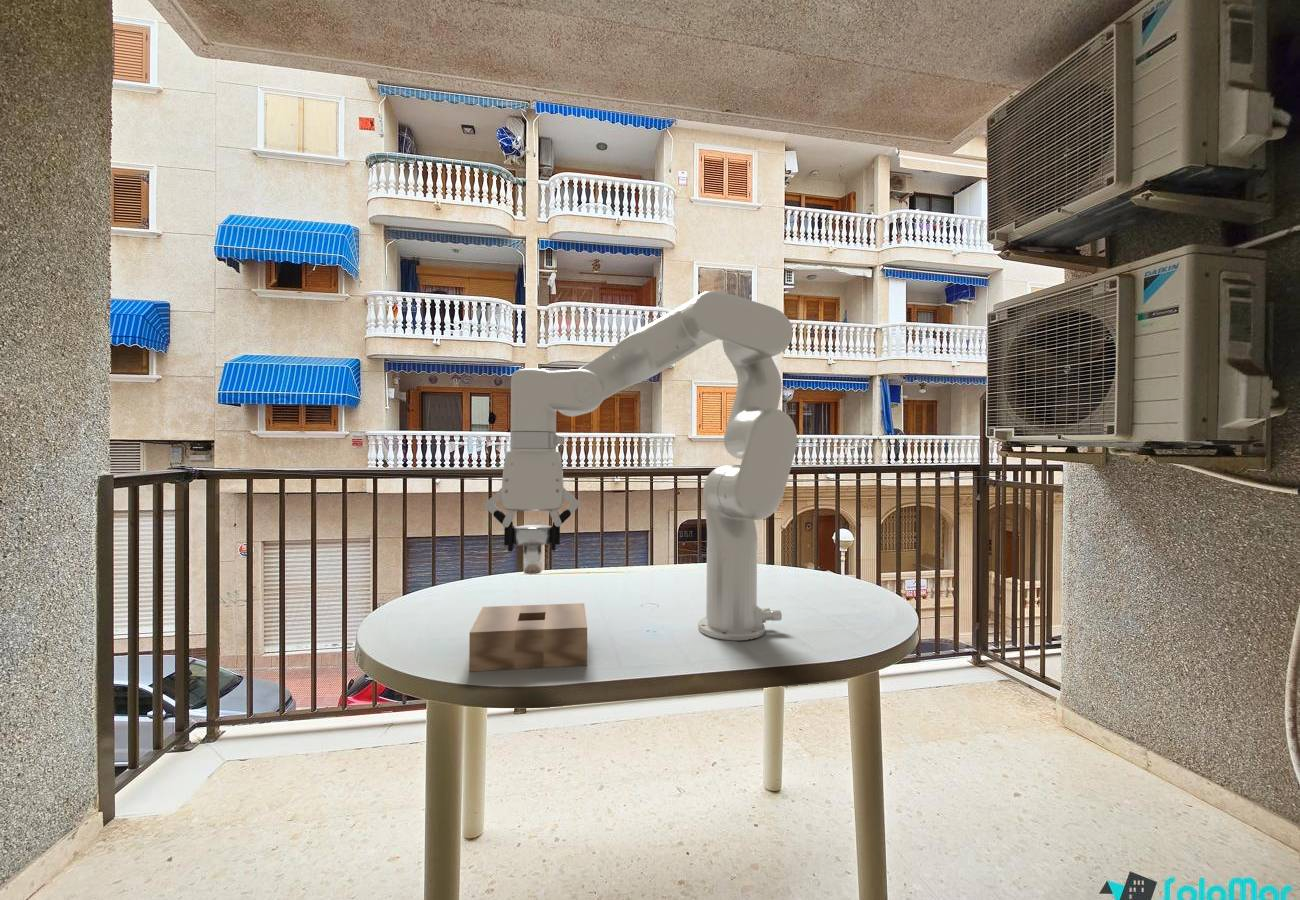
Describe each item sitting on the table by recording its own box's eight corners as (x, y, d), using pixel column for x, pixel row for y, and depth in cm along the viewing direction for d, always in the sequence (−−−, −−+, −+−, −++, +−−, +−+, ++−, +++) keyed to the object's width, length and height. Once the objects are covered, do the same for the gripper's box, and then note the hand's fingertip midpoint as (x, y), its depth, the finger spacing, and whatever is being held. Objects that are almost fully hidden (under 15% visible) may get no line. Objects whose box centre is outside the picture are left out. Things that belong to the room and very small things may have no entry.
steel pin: (552, 567, 97) (552, 524, 97) (551, 575, 91) (551, 529, 91) (514, 568, 96) (514, 525, 96) (511, 577, 90) (511, 530, 90)
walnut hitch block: (583, 635, 102) (584, 603, 102) (587, 665, 88) (587, 627, 88) (482, 640, 99) (482, 606, 99) (469, 671, 85) (469, 632, 85)
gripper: (584, 444, 98) (583, 545, 98) (483, 443, 96) (482, 546, 96) (585, 443, 91) (584, 552, 91) (476, 442, 88) (475, 554, 88)
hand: (532, 548), depth 93 cm, fingers closed on steel pin, 6 cm apart
